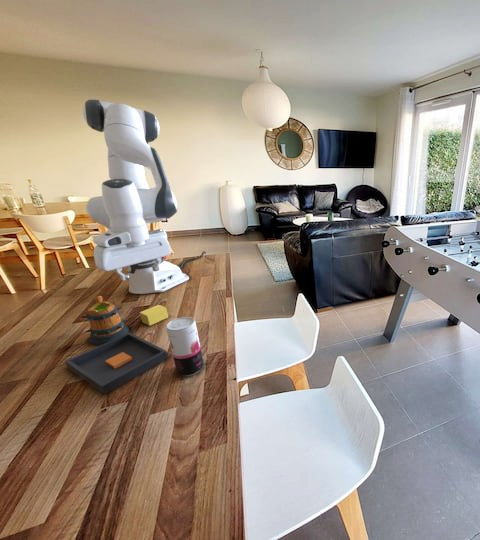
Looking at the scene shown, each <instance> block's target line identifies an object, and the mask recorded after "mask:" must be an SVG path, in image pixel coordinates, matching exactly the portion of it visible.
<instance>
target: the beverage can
mask: <svg viewBox="0 0 480 540" xmlns="http://www.w3.org/2000/svg"><path fill="white" fill-rule="evenodd" d="M165 328H166V329H165V330H166V334H167V337H168V341H169V347H170V350H171V354H172V359H173V362H174V367H175V371H176V374H177V375H179V376H182V377H190V376H193V375H196V374H198V373H199V372H200V371H201V370H202V369H203V368H204V365H205V363H204V359H203V353H202V348H201V343H200V338H199V333H198V328H197V322H196V320H195V319H194V318H193V317H190V316H181V317H177V318H174V319H172V320H171V321H169V322H168V323H167V324H166V327H165Z"/></svg>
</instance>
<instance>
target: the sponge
mask: <svg viewBox="0 0 480 540" xmlns="http://www.w3.org/2000/svg"><path fill="white" fill-rule="evenodd" d="M139 317H140V319H141V323H143V324H145V325H147V326H149V327H151V326H153V325H154V324H157V323H159V322H162V321H164V320H166V319H168V318H169V314H168V309H167V307H165V306H163V305H161V304H157V305H154V306H152V307H149V308H147V309H145V310H141V311H139Z"/></svg>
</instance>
